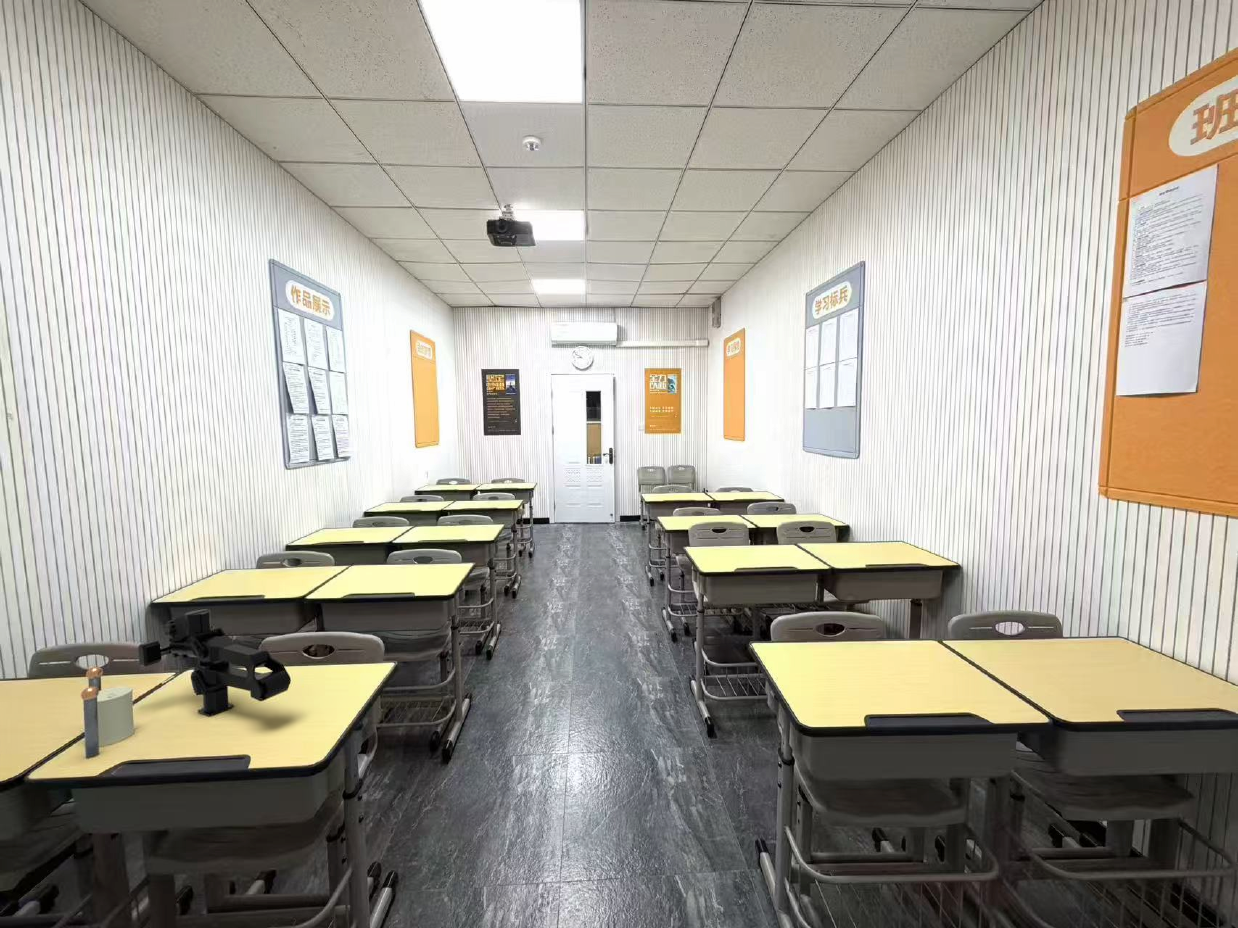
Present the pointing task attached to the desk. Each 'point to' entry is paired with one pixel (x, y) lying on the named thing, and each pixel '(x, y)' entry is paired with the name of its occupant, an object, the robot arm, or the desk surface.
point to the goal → (91, 711)
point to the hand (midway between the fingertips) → (161, 642)
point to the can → (115, 715)
